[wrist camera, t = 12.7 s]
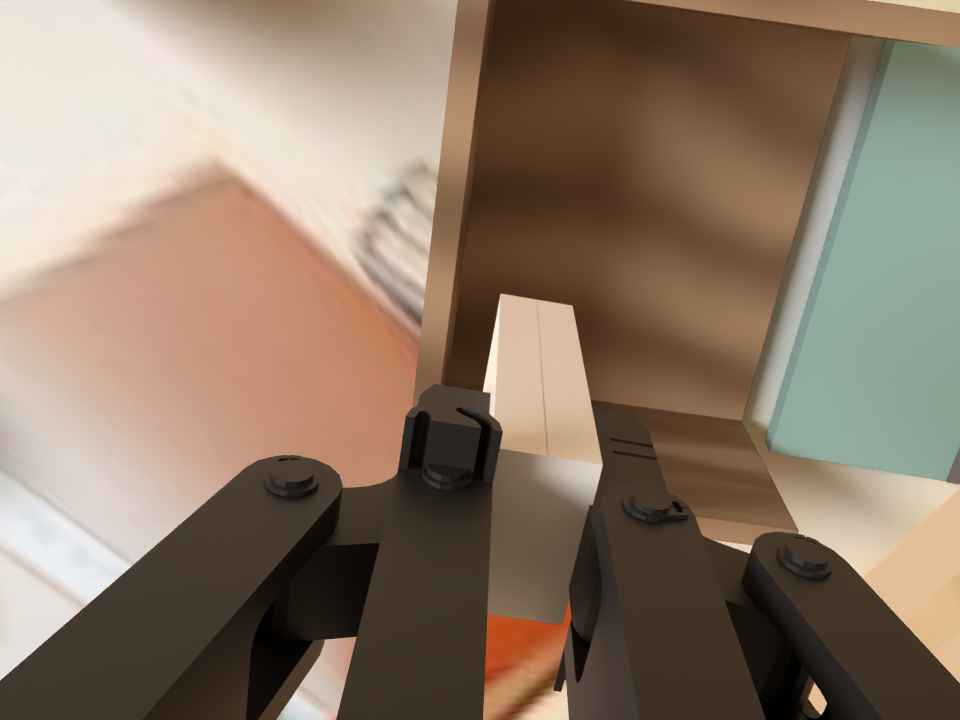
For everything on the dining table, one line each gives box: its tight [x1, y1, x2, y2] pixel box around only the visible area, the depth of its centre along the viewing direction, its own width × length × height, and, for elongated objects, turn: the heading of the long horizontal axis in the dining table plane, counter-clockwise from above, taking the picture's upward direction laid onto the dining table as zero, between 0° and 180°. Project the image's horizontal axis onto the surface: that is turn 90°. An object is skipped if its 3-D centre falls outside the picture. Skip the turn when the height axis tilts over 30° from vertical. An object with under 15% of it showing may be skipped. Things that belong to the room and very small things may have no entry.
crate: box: [412, 0, 960, 545], centre depth 36 cm, size 21×16×11 cm
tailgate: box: [765, 40, 960, 484], centre depth 40 cm, size 21×1×10 cm
